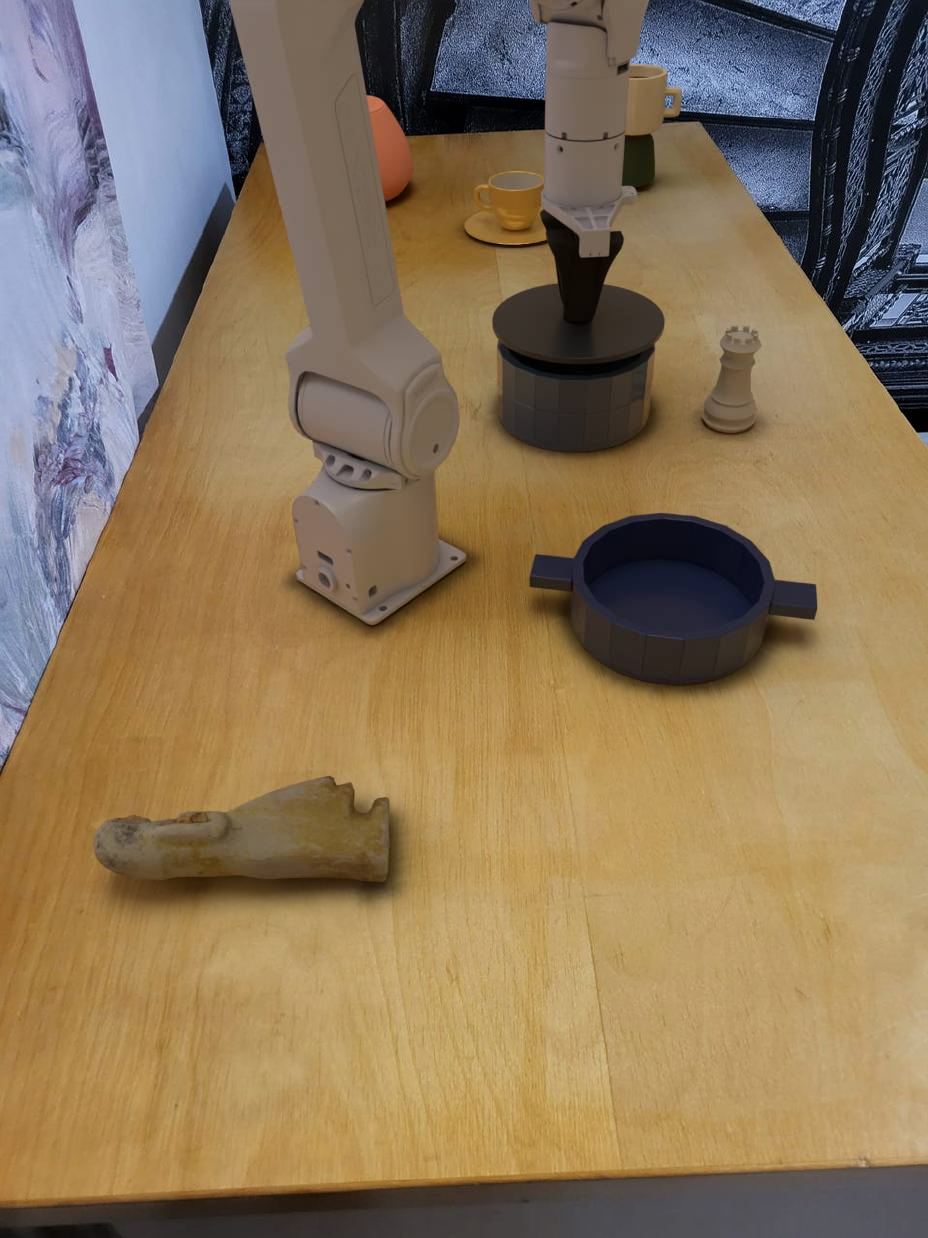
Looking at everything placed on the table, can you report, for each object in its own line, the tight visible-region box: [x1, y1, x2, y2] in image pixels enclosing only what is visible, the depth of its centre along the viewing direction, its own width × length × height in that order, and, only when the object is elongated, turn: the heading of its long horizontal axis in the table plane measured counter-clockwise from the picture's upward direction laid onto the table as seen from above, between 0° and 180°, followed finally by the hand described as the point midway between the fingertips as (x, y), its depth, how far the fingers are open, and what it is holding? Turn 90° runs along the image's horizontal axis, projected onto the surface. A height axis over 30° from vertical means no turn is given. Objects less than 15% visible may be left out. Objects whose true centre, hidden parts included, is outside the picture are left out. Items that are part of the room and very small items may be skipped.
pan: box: [528, 512, 818, 686], centre depth 65 cm, size 13×18×4 cm
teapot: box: [366, 94, 414, 202], centre depth 125 cm, size 22×15×12 cm
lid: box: [491, 282, 666, 364], centre depth 80 cm, size 14×14×5 cm
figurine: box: [92, 775, 391, 883], centre depth 52 cm, size 5×5×15 cm
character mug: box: [622, 63, 683, 189], centre depth 124 cm, size 11×7×13 cm, turn 83°
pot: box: [496, 338, 656, 453], centre depth 84 cm, size 13×13×6 cm
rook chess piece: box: [701, 324, 762, 434], centre depth 82 cm, size 4×4×8 cm
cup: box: [463, 170, 547, 245], centre depth 116 cm, size 12×12×5 cm
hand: (577, 310), depth 80 cm, fingers closed on lid, 2 cm apart
